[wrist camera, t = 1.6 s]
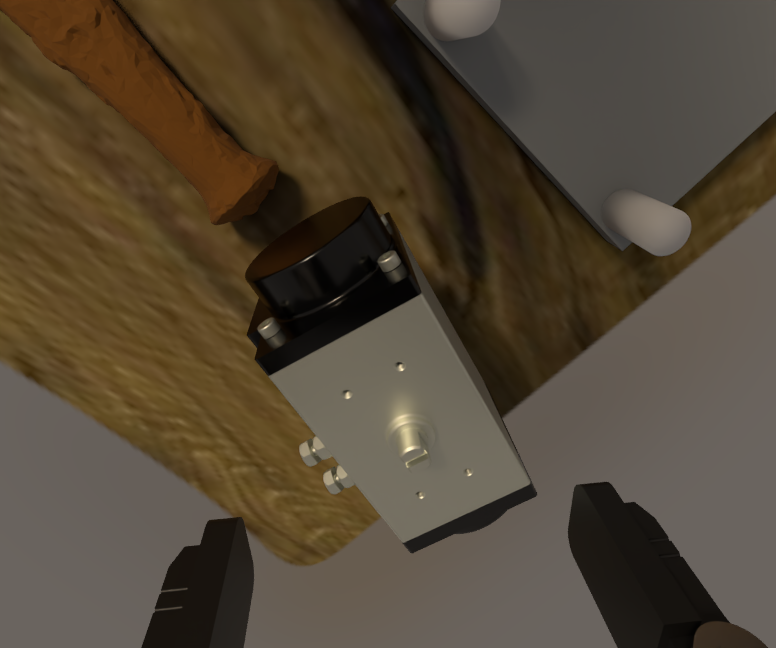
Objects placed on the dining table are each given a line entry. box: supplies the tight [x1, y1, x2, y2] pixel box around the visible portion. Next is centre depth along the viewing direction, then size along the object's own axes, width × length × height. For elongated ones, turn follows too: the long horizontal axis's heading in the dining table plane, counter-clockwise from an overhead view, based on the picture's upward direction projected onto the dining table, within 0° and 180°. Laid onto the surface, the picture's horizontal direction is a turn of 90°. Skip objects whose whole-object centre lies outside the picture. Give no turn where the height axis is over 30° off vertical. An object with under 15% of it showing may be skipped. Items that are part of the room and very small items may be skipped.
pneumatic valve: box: [245, 197, 537, 553], centre depth 20 cm, size 6×12×12 cm, turn 29°
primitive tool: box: [0, 0, 279, 225], centre depth 17 cm, size 19×6×4 cm, turn 43°
